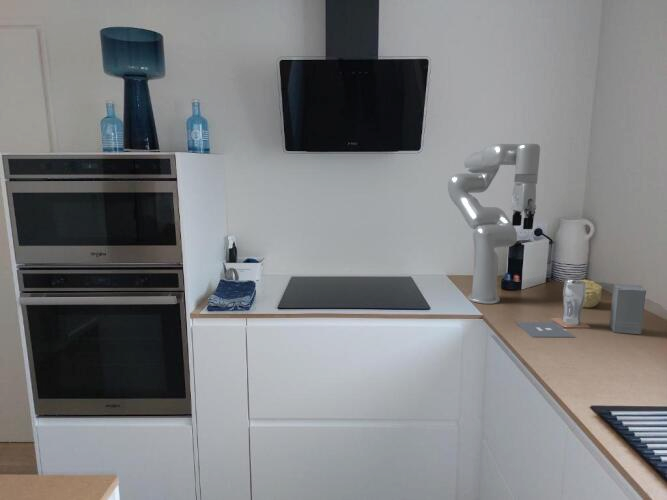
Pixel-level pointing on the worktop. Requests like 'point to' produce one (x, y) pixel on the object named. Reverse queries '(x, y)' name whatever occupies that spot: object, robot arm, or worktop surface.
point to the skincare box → (627, 308)
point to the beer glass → (573, 301)
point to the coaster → (559, 322)
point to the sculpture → (592, 294)
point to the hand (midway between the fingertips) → (521, 227)
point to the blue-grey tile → (544, 329)
